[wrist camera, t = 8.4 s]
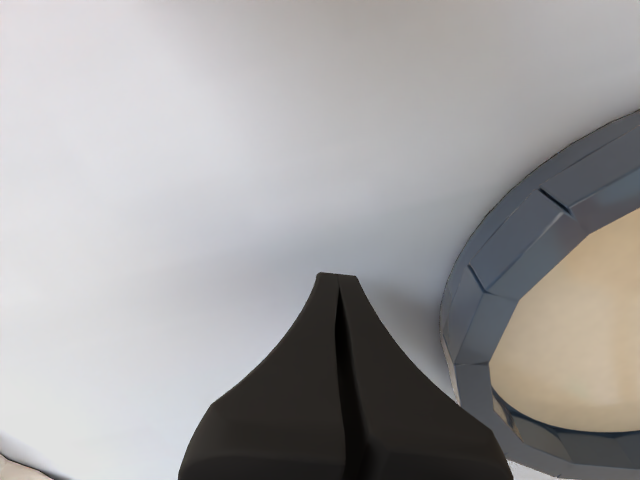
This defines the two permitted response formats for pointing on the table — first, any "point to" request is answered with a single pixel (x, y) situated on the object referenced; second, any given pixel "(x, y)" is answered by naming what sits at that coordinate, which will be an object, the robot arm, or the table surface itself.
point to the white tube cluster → (18, 471)
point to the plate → (556, 313)
